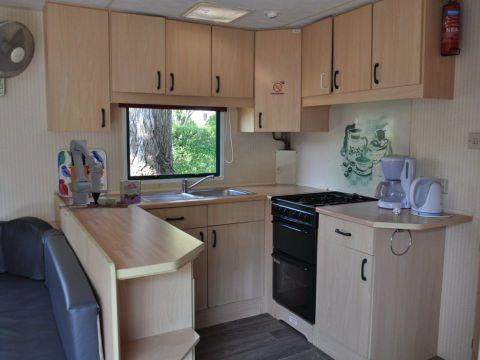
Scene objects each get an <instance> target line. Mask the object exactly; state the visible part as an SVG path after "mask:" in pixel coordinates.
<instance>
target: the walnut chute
mask: <svg viewBox="0 0 480 360" xmlns="http://www.w3.org/2000/svg"><path fill="white" fill-rule="evenodd" d="M129 206H130V202H120V201H116V204H108V201H107V204H98V202H97V204H95V202H94V201H89V203H87V205H86V207H87V208H129Z"/></svg>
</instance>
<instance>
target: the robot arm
mask: <svg viewBox="0 0 480 360" xmlns="http://www.w3.org/2000/svg"><path fill="white" fill-rule="evenodd" d="M88 146H89V143H88V141H87V140H86V139H71V140H70V143H69V148H70V153H72V154H71V155H72V159H73V164H74V169H75V175H76V178H75V179H74V181H73V189H74V192H73V193H72V204H74V205H77V204H78V205H86V204H89V194H91V197H92V198H93V202H95V204H97V202H98V199H99V198H100V196H101V194H108V192H109V190H108V189H102V188H101V181H102V180H101V177H102V176H101V174H102V173H103V170H104V169H103V166H102V164H100V163H98V161H97V160H96V158H95V156H93V155H92V154H91V152H90V149H89V147H88ZM82 154H83V155H84V157H85V162H86V163H87V166H88V167H89V173H90V178H91V182H90V179H89V178H87V177H86V175H85V170H84V165H83V159H82Z"/></svg>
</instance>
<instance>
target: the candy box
mask: <svg viewBox="0 0 480 360" xmlns="http://www.w3.org/2000/svg"><path fill="white" fill-rule="evenodd" d="M141 183H142V181H141V180H132V179H131V180H128V179H127V180H123V179H121V180H120V186H119V199H120V200H119V202H129V203H141V198H142V197H141V194H142V193H141V191H142V190H141V188H142V187H141V185H142V184H141Z"/></svg>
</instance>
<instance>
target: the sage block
mask: <svg viewBox="0 0 480 360" xmlns="http://www.w3.org/2000/svg"><path fill="white" fill-rule="evenodd" d="M107 202H108V204H116V202H117V197H107Z"/></svg>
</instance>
